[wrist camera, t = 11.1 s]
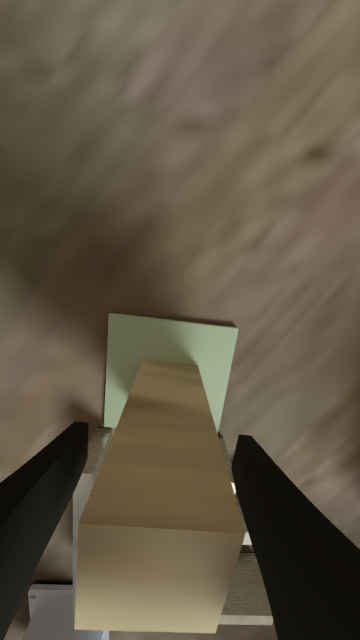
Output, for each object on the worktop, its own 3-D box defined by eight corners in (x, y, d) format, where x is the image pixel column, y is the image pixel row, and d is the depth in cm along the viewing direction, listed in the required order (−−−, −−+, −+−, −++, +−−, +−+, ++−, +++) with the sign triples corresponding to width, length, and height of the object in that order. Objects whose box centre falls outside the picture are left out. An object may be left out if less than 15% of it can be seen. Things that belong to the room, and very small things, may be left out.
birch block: (189, 412, 14) (215, 633, 5) (137, 407, 14) (74, 629, 5) (197, 365, 13) (245, 533, 4) (143, 358, 13) (78, 523, 4)
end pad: (216, 431, 15) (217, 435, 15) (105, 423, 14) (103, 426, 14) (236, 327, 13) (238, 328, 13) (110, 312, 13) (108, 313, 12)
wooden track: (253, 561, 19) (271, 625, 15) (92, 555, 18) (72, 621, 14) (289, 442, 15) (322, 488, 12) (96, 427, 15) (72, 472, 11)
